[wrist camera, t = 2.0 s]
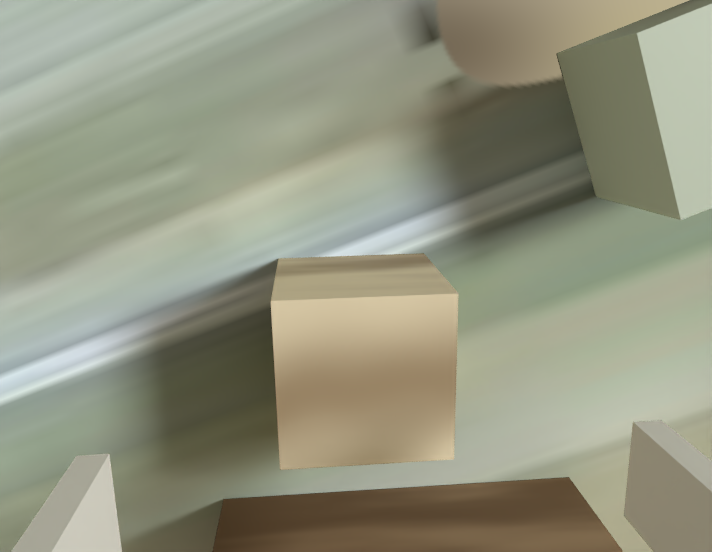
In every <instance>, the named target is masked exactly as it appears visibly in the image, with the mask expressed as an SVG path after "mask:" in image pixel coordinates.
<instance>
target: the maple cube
mask: <svg viewBox="0 0 712 552" xmlns="http://www.w3.org/2000/svg"><path fill="white" fill-rule="evenodd" d="M271 316H272V334H273V352H274V370H275V388H276V406H277V424H278V442H279V460H280V470H286V469H303V468H319V467H336V466H352V465H369V464H385V463H402V462H418V461H435V460H451V459H454V440H455V402H456V364H457V326H458V292H457V291H456V290H455V289H454V288H453V287H452V286H451V284H450V283H449V282H448V281H447V280H446V279H445V277H444V276H443V275H442V274H441V273H440V272H439V270H438V269H437V268H436V267H435V266H434V265H433V264H432V262H431V261H430V260H429V259H428V258H427V257H426V255H425V254H424V253H422V254H394V255H365V256H337V257H308V258H280V259H278V264H277V270H276V275H275V280H274V286H273V291H272V297H271Z"/></svg>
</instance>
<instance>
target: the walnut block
mask: <svg viewBox="0 0 712 552" xmlns="http://www.w3.org/2000/svg"><path fill="white" fill-rule="evenodd" d="M212 552H622V549H621V548H620V547H619V545H618V544H617V543H616V541H615V540H614V538H613V537H612V536H611V534H610V533H609V532H608V530H607V529H606V527H605V526H604V525H603V523H602V522H601V521H600V519H599V518H598V517H597V515H596V514H595V512H594V511H593V510H592V508H591V507H590V506H589V504H588V503H587V501H586V500H585V499H584V497H583V496H582V495H581V493H580V492H579V491H578V489H577V488H576V486H575V485H574V484H573V482H572V481H571V480H570V478H569V477H568V478H552V479H536V480H520V481H505V482H489V483H473V484H457V485H442V486H426V487H410V488H394V489H378V490H363V491H347V492H331V493H315V494H300V495H284V496H268V497H252V498H236V499H224V500H223V505H222V509H221V514H220V519H219V523H218V528H217V533H216V537H215V542H214V547H213V551H212Z"/></svg>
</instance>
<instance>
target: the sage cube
mask: <svg viewBox="0 0 712 552" xmlns="http://www.w3.org/2000/svg"><path fill="white" fill-rule="evenodd" d="M556 55H557V59H558V62H559V65H560V69H561V73H562V77H563V78H564V81H565V85H566V89H567V92H568V96H569V100H570V103H571V107H572V111H573V114H574V118H575V122H576V125H577V129H578V133H579V136H580V140H581V144H582V147H583V151H584V155H585V158H586V162H587V166H588V169H589V173H590V177H591V180H592V184H593V188H594V191H595V195H596V197H599V198H602V199H606V200H609V201H613V202H617V203H620V204H624V205H628V206H631V207H635V208H639V209H642V210H646V211H650V212H653V213H657V214H661V215H664V216H668V217H671V218H675V219H679V220H682V219H685V218H688V217H690V216H693V215H695V214H698V213H700V212H703V211H705V210H708V209H711V208H712V0H690V1H687V2H684V3H682V4H679V5H677V6H674V7H672V8H669V9H667V10H664V11H662V12H659V13H657V14H654V15H652V16H649V17H647V18H644V19H642V20H639V21H637V22H634V23H632V24H629V25H627V26H624V27H622V28H619V29H617V30H614V31H612V32H609V33H607V34H604V35H602V36H599V37H597V38H594V39H592V40H589V41H586V42H584V43H582V44H579V45H577V46H574V47H571V48H569V49H566V50H564V51H561V52H559V53H557V54H556Z"/></svg>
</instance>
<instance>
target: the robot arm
mask: <svg viewBox="0 0 712 552" xmlns="http://www.w3.org/2000/svg"><path fill="white" fill-rule="evenodd" d="M624 516H625V518H626V519H627V520H628V521H629V522H630V524H631V525H632V526H633V527H634V528H635V530H636V531H637V532H638V533H639V535H640V536H641V537H642V538H643V539H644V541H645V542H646V543H647V544H648V545H649V547H650V548H651V549H652V550H653V551H654V552H712V461H711V460H710V459H709V458H707V457H706V456H705V455H704V454H702V453H701V452H700V451H699V450H698V449H696V448H695V447H694V446H693V445H691V444H690V443H689V442H688V441H686V440H685V439H684V438H683V437H682V436H680V435H679V434H678V433H677V432H675V431H674V430H673V429H672V428H671V427H669V426H668V425H667V424H666V423H664V422H663V421H662V420H655V421H638V422H633V427H632V437H631V447H630V458H629V468H628V478H627V488H626V498H625V508H624ZM11 552H122V548H121V540H120V533H119V525H118V517H117V509H116V502H115V494H114V486H113V478H112V470H111V463H110V455H109V454H96V455H79V456H76V457H75V459H74V460H73V461H72V463H71V464H70V466H69V467H68V469H67V470H66V472H65V473H64V475H63V476H62V478H61V479H60V480H59V482H58V483H57V485H56V486H55V488H54V489H53V491H52V492H51V494H50V495H49V497H48V498H47V500H46V501H45V502H44V504H43V505H42V507H41V508H40V510H39V511H38V513H37V514H36V516H35V517H34V519H33V520H32V522H31V523H30V524H29V526H28V527H27V529H26V530H25V532H24V533H23V535H22V536H21V538H20V539H19V541H18V542H17V543H16V545H15V546H14V548H13V549H12V551H11Z"/></svg>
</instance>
